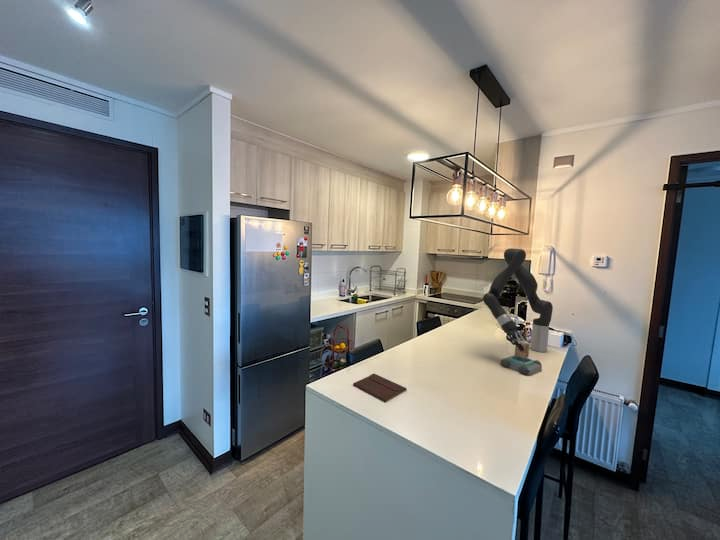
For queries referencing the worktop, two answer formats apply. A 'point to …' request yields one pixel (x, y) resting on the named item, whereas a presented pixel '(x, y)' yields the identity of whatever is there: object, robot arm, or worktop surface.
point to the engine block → (523, 353)
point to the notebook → (380, 387)
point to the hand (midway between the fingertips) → (525, 349)
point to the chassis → (522, 365)
